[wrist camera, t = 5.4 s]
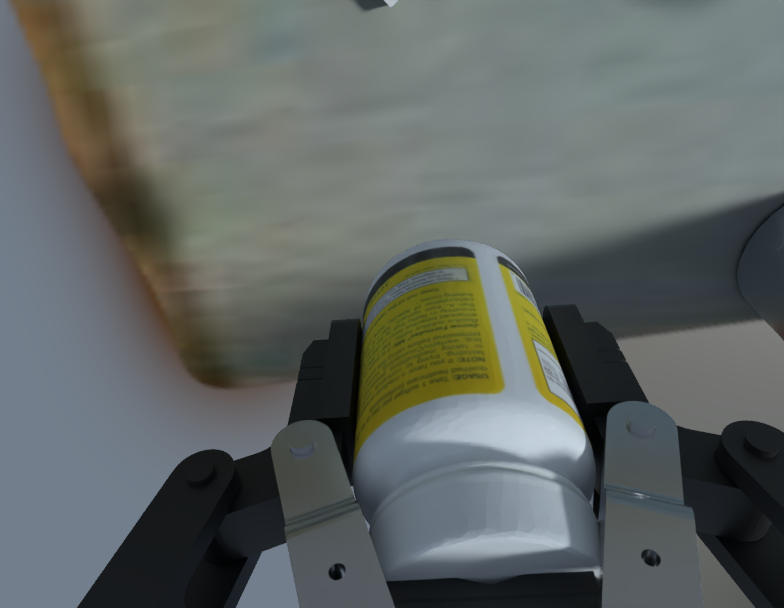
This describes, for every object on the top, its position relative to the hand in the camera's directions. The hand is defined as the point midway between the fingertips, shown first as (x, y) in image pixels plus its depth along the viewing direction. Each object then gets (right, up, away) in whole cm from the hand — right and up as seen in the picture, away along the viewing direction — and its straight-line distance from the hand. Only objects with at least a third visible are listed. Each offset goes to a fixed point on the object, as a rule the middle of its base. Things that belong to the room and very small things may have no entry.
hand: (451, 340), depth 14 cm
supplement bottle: (0, +1, +1) cm, 2 cm away
